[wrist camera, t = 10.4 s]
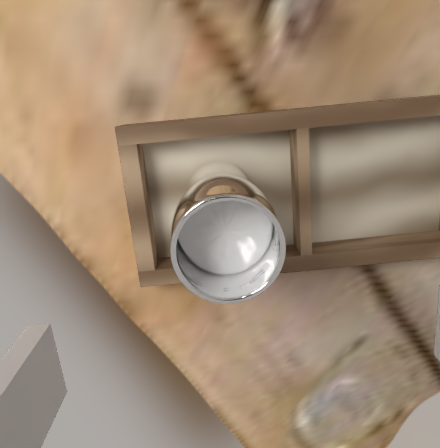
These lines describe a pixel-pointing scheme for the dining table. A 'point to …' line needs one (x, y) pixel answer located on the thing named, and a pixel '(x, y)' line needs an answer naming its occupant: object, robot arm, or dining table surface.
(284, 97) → the dining table surface
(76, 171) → the dining table surface
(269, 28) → the dining table surface
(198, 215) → the metal cup
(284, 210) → the tray
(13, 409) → the robot arm
